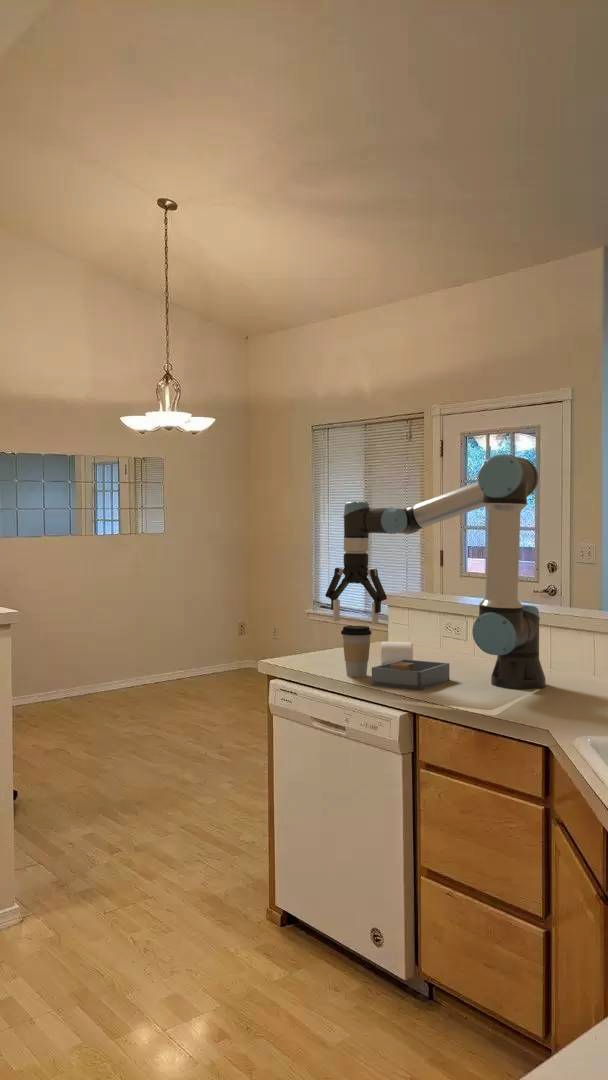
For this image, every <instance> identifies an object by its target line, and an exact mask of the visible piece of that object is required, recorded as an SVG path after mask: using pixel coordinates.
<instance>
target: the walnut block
mask: <svg viewBox="0 0 608 1080" xmlns="http://www.w3.org/2000/svg"><path fill="white" fill-rule="evenodd" d="M391 669H397V670H407V671H414V663H404V662H397V663H393V664H391Z"/></svg>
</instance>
